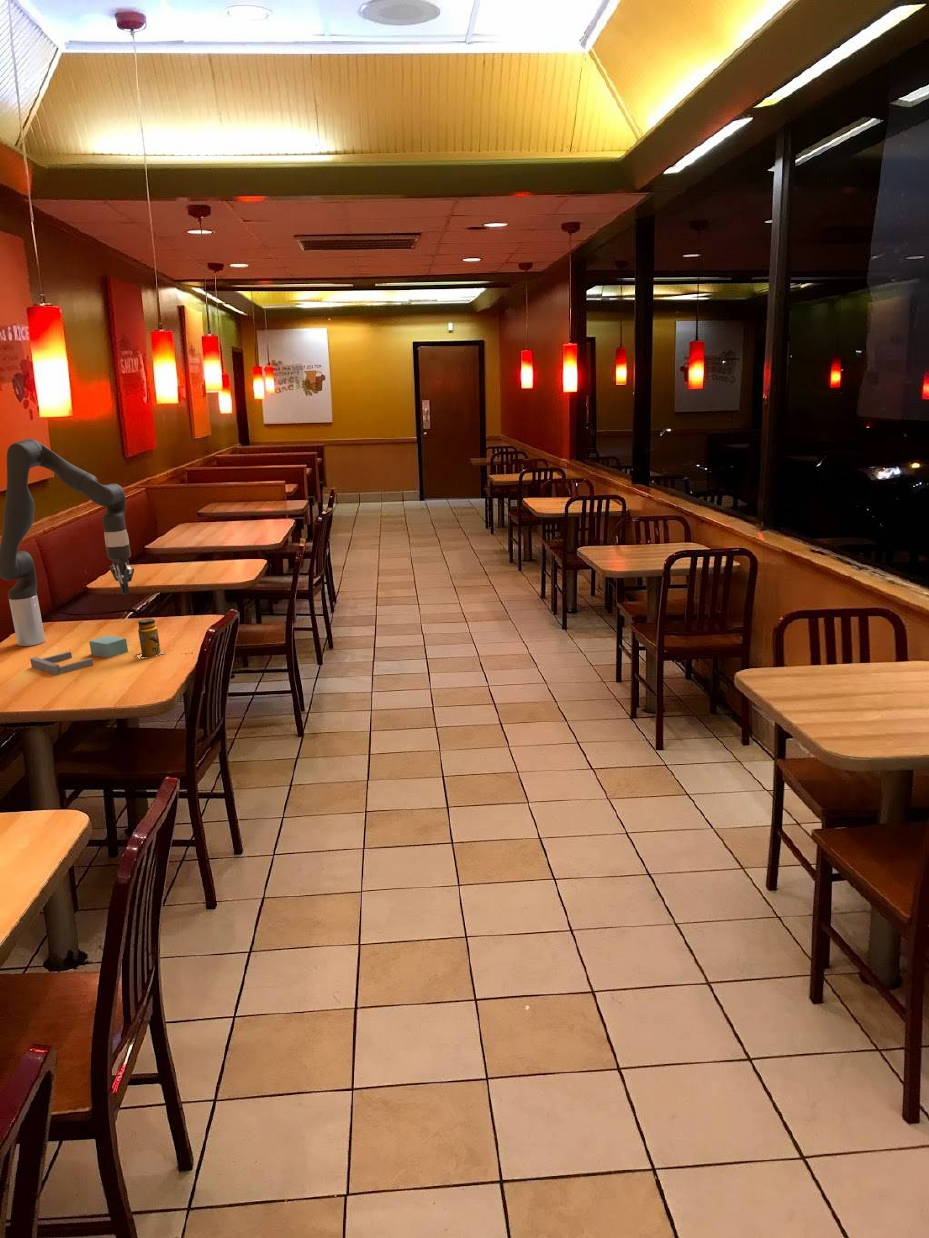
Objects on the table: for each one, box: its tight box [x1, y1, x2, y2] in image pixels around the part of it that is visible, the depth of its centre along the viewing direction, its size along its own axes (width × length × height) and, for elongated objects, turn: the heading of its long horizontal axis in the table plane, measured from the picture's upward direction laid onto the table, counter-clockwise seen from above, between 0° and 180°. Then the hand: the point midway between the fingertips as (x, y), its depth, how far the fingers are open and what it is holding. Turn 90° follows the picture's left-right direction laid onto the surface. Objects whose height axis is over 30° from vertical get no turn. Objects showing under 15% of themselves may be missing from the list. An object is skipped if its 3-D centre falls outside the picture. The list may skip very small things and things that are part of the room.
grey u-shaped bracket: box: [29, 651, 94, 676], centre depth 302 cm, size 16×13×3 cm
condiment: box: [133, 618, 164, 661], centre depth 308 cm, size 7×8×12 cm
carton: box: [88, 634, 129, 659], centre depth 314 cm, size 10×8×5 cm
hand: (125, 593), depth 316 cm, fingers closed
